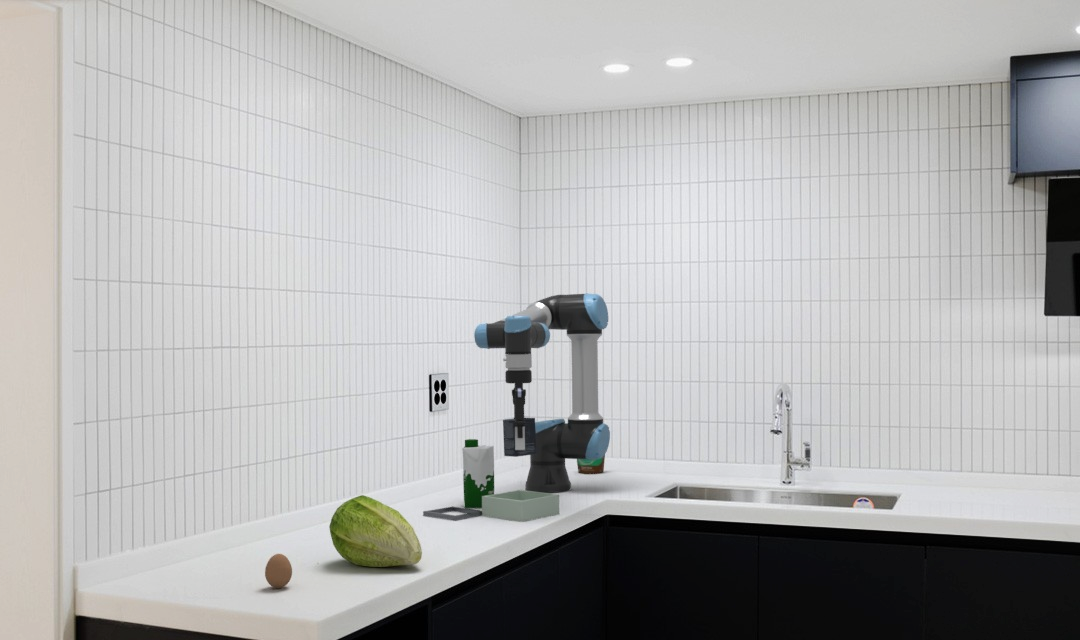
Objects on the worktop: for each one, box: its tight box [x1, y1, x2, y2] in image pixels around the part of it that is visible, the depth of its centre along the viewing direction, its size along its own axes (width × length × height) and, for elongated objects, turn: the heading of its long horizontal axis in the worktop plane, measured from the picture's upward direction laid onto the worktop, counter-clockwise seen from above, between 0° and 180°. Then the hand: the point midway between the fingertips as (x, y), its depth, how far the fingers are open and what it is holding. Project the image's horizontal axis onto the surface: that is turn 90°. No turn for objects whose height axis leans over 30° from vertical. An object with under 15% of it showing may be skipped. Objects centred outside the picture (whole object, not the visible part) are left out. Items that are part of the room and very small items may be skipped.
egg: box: [264, 553, 293, 589], centre depth 217 cm, size 5×5×7 cm
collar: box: [422, 505, 483, 522], centre depth 303 cm, size 12×14×1 cm
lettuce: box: [329, 494, 423, 568], centre depth 238 cm, size 15×25×16 cm
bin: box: [481, 489, 560, 522], centre depth 302 cm, size 16×16×6 cm
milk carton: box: [461, 438, 495, 509], centre depth 319 cm, size 9×9×20 cm
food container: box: [576, 450, 608, 475], centre depth 391 cm, size 12×6×10 cm, turn 81°
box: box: [502, 417, 537, 458], centre depth 302 cm, size 8×6×11 cm
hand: (519, 447), depth 302 cm, fingers closed on box, 9 cm apart
